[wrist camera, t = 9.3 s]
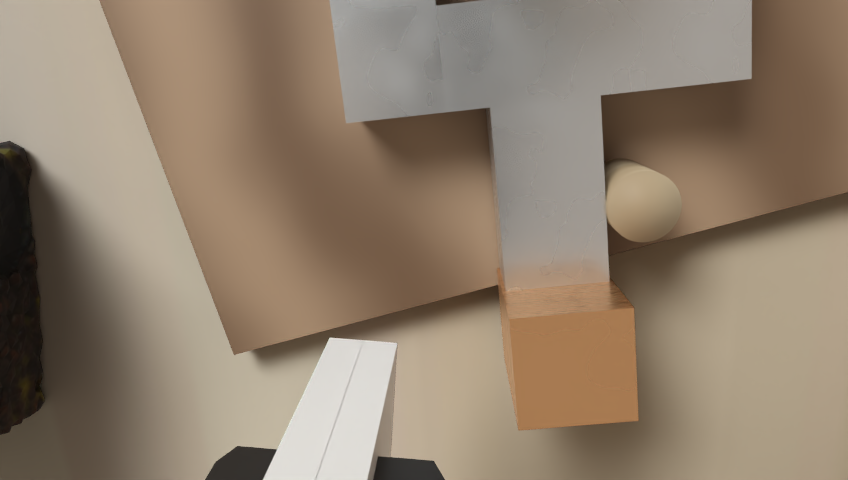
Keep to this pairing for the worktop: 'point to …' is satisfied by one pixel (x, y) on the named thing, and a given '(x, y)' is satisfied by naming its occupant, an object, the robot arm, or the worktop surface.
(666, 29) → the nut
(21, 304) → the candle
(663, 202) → the dowel
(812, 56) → the base board
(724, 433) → the worktop surface
